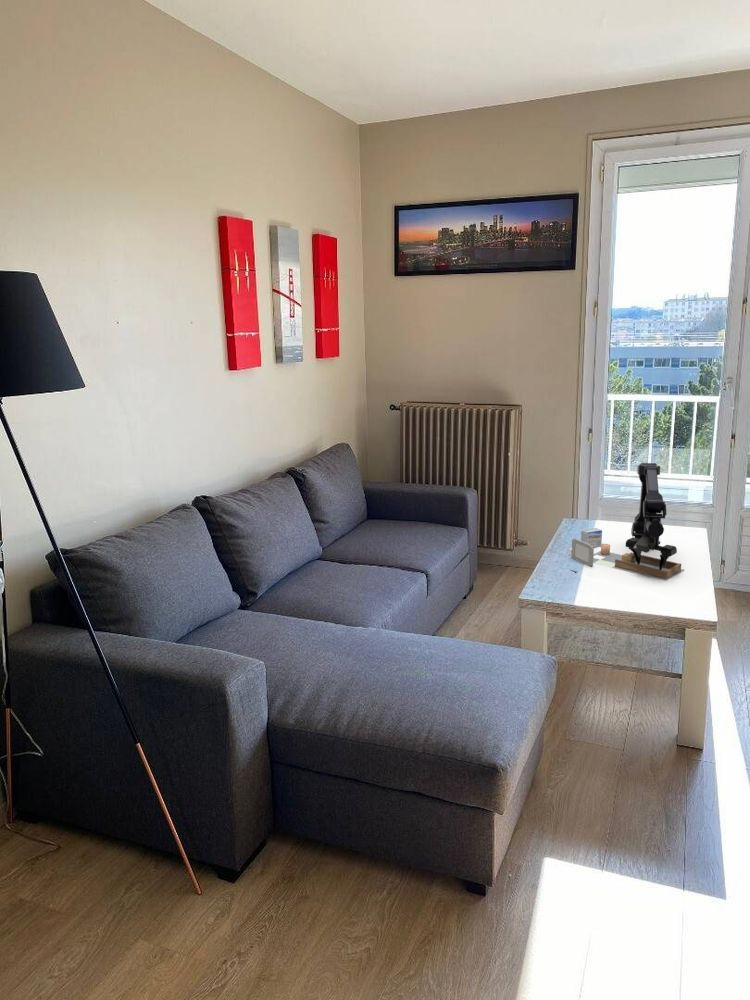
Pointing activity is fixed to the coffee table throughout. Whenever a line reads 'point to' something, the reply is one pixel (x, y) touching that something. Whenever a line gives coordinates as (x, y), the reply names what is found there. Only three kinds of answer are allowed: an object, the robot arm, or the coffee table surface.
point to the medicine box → (592, 537)
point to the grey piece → (582, 552)
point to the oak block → (629, 558)
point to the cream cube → (570, 551)
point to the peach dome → (605, 549)
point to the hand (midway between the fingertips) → (649, 567)
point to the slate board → (610, 562)
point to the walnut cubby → (671, 566)
